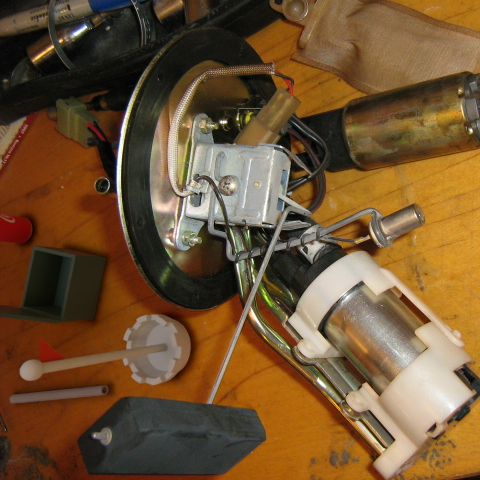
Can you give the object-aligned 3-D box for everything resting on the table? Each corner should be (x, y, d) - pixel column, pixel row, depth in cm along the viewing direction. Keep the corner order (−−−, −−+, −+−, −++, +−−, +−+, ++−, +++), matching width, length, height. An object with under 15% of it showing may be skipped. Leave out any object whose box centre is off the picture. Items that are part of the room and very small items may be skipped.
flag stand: (206, 351, 88) (71, 380, 60) (163, 394, 91) (14, 440, 63) (171, 299, 92) (29, 304, 64) (131, 341, 95) (-22, 363, 67)
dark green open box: (65, 248, 104) (32, 245, 97) (106, 257, 100) (75, 255, 92) (53, 307, 104) (20, 309, 97) (94, 319, 99) (62, 322, 92)
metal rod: (109, 393, 96) (101, 395, 94) (18, 402, 105) (9, 404, 103) (108, 384, 96) (100, 386, 94) (17, 393, 105) (9, 395, 103)
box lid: (-56, 296, 83) (-68, 327, 82) (-11, 311, 78) (-23, 343, 77) (18, 307, 96) (8, 333, 95) (60, 320, 91) (51, 348, 90)
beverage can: (27, 212, 110) (-26, 203, 99) (38, 230, 108) (-15, 224, 97) (12, 230, 111) (-42, 224, 100) (23, 249, 109) (-31, 244, 98)
